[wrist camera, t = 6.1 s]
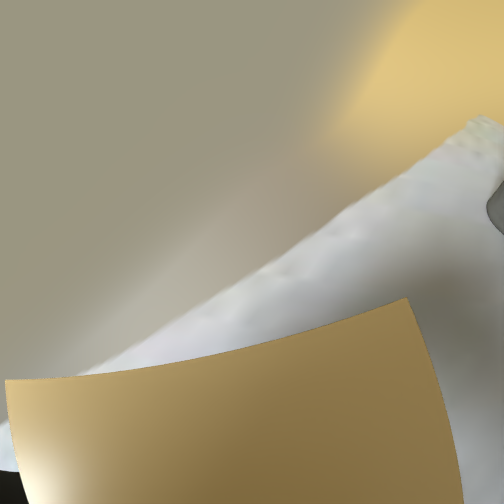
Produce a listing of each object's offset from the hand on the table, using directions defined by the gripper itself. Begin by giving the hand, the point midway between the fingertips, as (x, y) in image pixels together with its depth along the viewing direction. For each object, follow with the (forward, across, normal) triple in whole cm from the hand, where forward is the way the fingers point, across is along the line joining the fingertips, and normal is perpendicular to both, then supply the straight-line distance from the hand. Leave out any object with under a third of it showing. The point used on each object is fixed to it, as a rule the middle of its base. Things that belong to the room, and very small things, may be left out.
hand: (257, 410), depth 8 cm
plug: (+4, 0, +6) cm, 7 cm away
